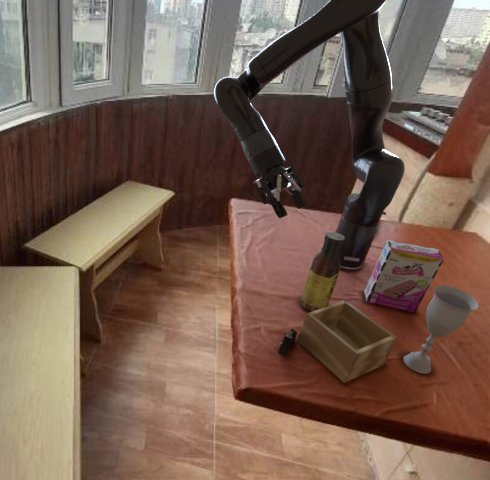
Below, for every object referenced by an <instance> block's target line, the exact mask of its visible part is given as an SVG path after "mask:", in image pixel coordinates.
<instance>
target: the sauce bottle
mask: <svg viewBox="0 0 490 480" xmlns="http://www.w3.org/2000/svg"><path fill="white" fill-rule="evenodd" d="M344 240H345V237H344V236H343V235H341V234H339V233H336V231H328V232H325V235H324V239H323V244H322V247H321V250H320V251H319V252H318V253H317V254H316V255H314V257H313V260H312V262H311V265H310V266H309V270H308V273H307V277H306V280H305V284H304V287H303V290H302V293H301V297H300V298H301V299H300V305H301V307H303V308H304V309H305V310H307V311H308V312H312V311H315V310H318V309H321V308H324V307H327V306H329V304H330V301H331V298H332V295H333V292H334V289H335V286H336V283H337V280H338V278H339V275H340V271H341V269H340V255H339V254H340V250H341V247H342V245H343V244H344Z"/></svg>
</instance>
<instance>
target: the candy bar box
mask: <svg viewBox="0 0 490 480" xmlns="http://www.w3.org/2000/svg"><path fill="white" fill-rule="evenodd" d="M444 261H445V258H444V257H443V254H442V253H441V252H440V250H439V249H437V248H433V247H428V246H422V245H418V244H417V245H416V244H411V243H407V242H401V241H397V240H396V241H395V240H391V239H387V240H386V242H385V243H384V246H383V248H382V251H381V252H380V255H379V257H378V260H377V262H376V263H375V266H374V268H373V271H372V273H371V275H370V277H369V279H368V281H367V284H366V287H365V289H364V290H363V291H364V292H363V294H364V299H365V302H366V303H367V304H371V305H374V306H375V305H376V306H380V307H385V308H389V309H394V310H399V311H403V312H407V313H412V314H415V313H416V312H417V311H418V308H419V306H420V304H421V303H422V301H423V299H424V297H425V295H426V293H427V292H428V291H429V288H430V287H431V284H432V283H433V281H434V279H435V277H436V276H437V274H438V272H439V270H440V268H441V265H442V264H443V262H444Z"/></svg>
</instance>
